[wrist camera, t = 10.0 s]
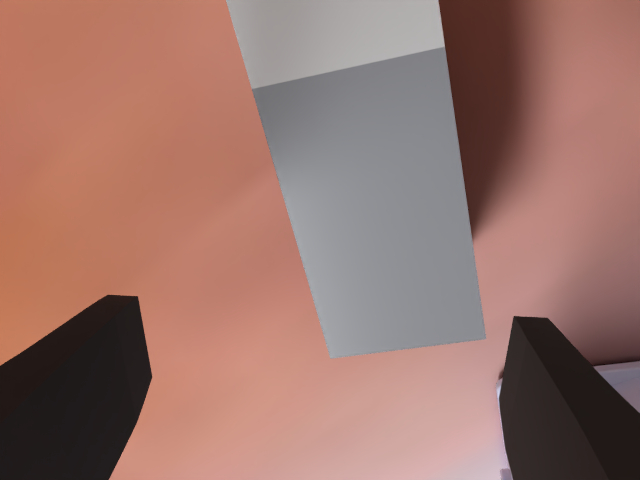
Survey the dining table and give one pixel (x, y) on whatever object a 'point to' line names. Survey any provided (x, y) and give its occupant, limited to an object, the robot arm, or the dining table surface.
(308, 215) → the box
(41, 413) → the robot arm
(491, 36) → the dining table surface
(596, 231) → the dining table surface
